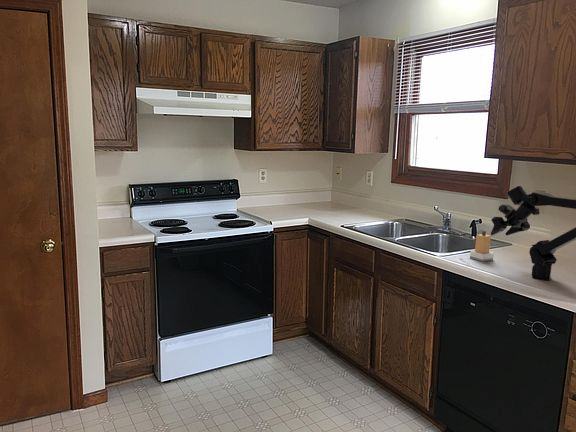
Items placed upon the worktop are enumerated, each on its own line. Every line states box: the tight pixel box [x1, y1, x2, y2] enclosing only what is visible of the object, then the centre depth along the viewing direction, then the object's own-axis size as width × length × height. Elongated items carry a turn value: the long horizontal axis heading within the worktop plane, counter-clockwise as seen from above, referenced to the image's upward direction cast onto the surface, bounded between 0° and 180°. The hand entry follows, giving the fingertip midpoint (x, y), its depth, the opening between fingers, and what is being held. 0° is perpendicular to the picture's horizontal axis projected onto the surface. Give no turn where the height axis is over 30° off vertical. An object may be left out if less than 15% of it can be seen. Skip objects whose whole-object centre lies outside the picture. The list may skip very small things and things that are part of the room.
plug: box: [474, 230, 492, 254], centre depth 226 cm, size 4×4×12 cm
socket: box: [469, 249, 494, 263], centre depth 227 cm, size 7×7×4 cm
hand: (498, 234), depth 218 cm, fingers open, 9 cm apart
